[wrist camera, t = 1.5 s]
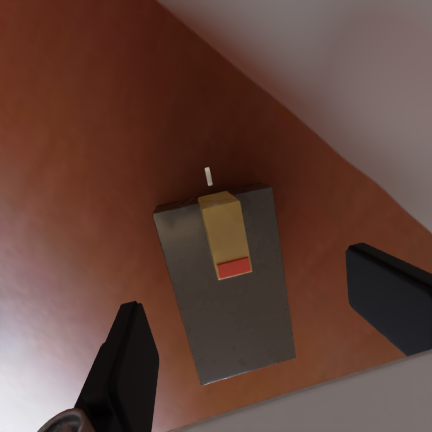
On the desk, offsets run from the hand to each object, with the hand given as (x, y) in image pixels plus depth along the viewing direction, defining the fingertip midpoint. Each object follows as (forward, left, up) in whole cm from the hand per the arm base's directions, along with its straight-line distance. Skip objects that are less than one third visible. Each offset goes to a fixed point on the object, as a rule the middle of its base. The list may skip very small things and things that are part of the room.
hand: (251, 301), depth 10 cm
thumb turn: (-1, -1, -10) cm, 10 cm away
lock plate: (+3, +4, -13) cm, 14 cm away
